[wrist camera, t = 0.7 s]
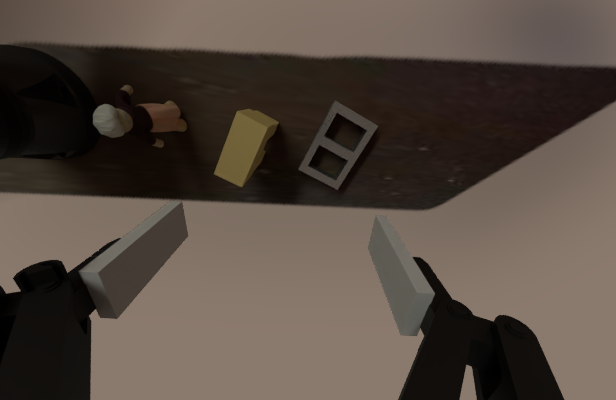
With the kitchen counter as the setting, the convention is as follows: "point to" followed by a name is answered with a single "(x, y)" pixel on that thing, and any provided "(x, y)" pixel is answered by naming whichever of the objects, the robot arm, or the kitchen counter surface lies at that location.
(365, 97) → the kitchen counter surface
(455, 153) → the kitchen counter surface
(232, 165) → the yellow notched block
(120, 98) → the grandmother figurine
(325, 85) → the kitchen counter surface
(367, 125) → the grey flat frame
